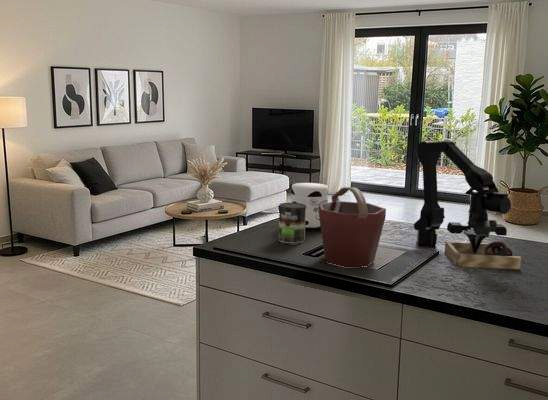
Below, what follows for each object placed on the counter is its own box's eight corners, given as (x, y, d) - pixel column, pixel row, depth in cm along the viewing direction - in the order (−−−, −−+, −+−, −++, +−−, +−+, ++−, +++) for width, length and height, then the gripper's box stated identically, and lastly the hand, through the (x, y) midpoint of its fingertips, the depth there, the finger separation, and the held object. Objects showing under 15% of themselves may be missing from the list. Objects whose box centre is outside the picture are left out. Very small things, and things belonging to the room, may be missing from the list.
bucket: (315, 250, 199) (318, 182, 195) (377, 252, 199) (381, 183, 194) (319, 271, 175) (322, 194, 171) (388, 273, 175) (393, 196, 170)
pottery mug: (519, 268, 185) (512, 249, 182) (492, 277, 187) (484, 259, 184) (508, 249, 196) (501, 231, 193) (482, 259, 198) (475, 241, 195)
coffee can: (299, 245, 204) (301, 208, 202) (274, 242, 208) (275, 206, 206) (308, 239, 214) (309, 203, 211) (283, 236, 218) (284, 201, 215)
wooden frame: (456, 266, 184) (457, 254, 183) (444, 251, 201) (445, 241, 200) (519, 269, 182) (521, 257, 181) (502, 254, 199) (503, 243, 198)
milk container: (330, 232, 226) (332, 189, 222) (288, 231, 226) (289, 188, 222) (327, 223, 243) (328, 182, 239) (287, 222, 243) (289, 181, 239)
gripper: (456, 212, 181) (452, 258, 184) (514, 214, 179) (509, 260, 182) (448, 206, 192) (445, 249, 195) (503, 208, 190) (499, 251, 193)
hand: (474, 252), depth 191 cm, fingers closed
